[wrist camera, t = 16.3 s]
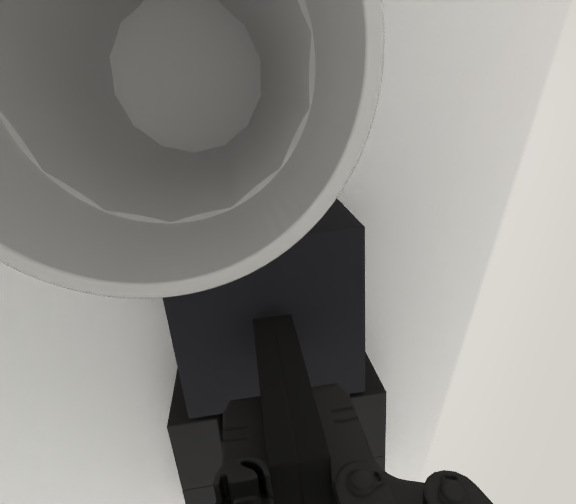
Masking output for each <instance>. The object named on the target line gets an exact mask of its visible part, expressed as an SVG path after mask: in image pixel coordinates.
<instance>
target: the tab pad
mask: <svg viewBox="0 0 576 504" xmlns="http://www.w3.org/2000/svg"><path fill="white" fill-rule="evenodd" d="M163 301H164V306H165V311H166V315H167V320H168V324H169V329H170V334H171V338H172V343H173V348H174V352H175V357H176V362H177V366H178V371H179V375H180V380H181V385H182V389H183V394H184V399H185V403H186V408H187V413H188V417H189V419H191V418H197V417H204V416H210V415H217V414H223V413H224V411H225V409H226V407H227V405H228V403H229V401H231V400H237V399H244V398H250V397H257V396H260V386H259V376H258V367H257V357H256V347H255V338H254V328H253V319H258V318H265V317H273V316H280V315H288V314H292V318H293V321H294V325H295V329H296V332H297V336H298V340H299V343H300V347H301V351H302V354H303V358H304V362H305V365H306V369H307V372H308V376H309V380H310V383H311V387H316V386H322V385H329V384H335V383H339V384H340V385H341V386H342V387H343V388H344V389H345V390H346V391H347V392H348V393H349V394H351V393H358V392H364V391H365V227H364V226H363V225H362V224H361V223H360V222H359V221H358V220H357V219H356V218H355V217H354V216H353V215H352V214H351V212H350V211H349V210H348V209H347V208H346V207H345V206H344V205H343V204H342V203H341V202H340V201H339V200H338V199H337V198H336V200H335V201H334V203H333V204H332V205H331V207H330V208H329V209H328V210H327V212H326V213H325V214H324V215H323V217H322V218H321V219H320V220H319V221H318V222H317V223H316V224H315V225H314V227H313V228H312V229H311V230H310V231H309V232H308V233H307V234H305V235H304V236H303V237H302V238H301V239H300V240H299V241H298V242H297V243H295V244H294V245H293V246H292V247H291V248H289V249H288V250H287V251H285V252H284V253H283V254H281V255H280V256H279V257H277V258H276V259H274V260H273V261H271V262H269V263H268V264H266V265H265V266H263V267H261V268H259V269H257V270H256V271H254V272H252V273H250V274H248V275H246V276H244V277H241V278H239V279H237V280H234V281H232V282H229V283H227V284H224V285H221V286H218V287H215V288H211V289H208V290H204V291H200V292H196V293H191V294H186V295H180V296H172V297H163Z"/></svg>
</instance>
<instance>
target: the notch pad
mask: <svg viewBox="0 0 576 504" xmlns="http://www.w3.org/2000/svg"><path fill="white" fill-rule="evenodd" d="M349 395H350V397H351V400H352V402H353V405H354V408H355V410H356V413H357V415H358V419H359V420H360V423H361V426H362V428H363V431H364V433H365V436H366V438H367V441H368V444H369V446H370V449H371V451H372V454H373V456H374V459H375V460H376V462H377V464H378V465H379V466H380V467H381V468H382V470H384V471H385V431H386V391H385V389H384V387H383V385H382V383H381V381H380V379H379V377H378V375H377V374H376V372H375V370H374V368H373V366H372V364H371V362H370V360H369V358H368V356H367V354H366V352H365V391H364V392H358V393H351V394H349ZM167 429H168V433H169V437H170V441H171V445H172V449H173V453H174V457H175V461H176V465H177V469H178V474H179V478H180V482H181V486H182V489H183V495H184V499H185V503H186V504H215V503H216V496H215V492H214V487H213V483H214V479H215V475H216V473H217V472H218V470H219V469H220V467H221V466H222V445H223V414H217V415H210V416H204V417H197V418H191V419H189V417H188V413H187V408H186V403H185V399H184V394H183V389H182V385H181V380H180V375H179V371H178V369H177V374H176V380H175V386H174V391H173V397H172V402H171V408H170V414H169V419H168V425H167Z"/></svg>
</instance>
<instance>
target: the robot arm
mask: <svg viewBox="0 0 576 504" xmlns="http://www.w3.org/2000/svg"><path fill="white" fill-rule="evenodd" d="M253 328H254V338H255V347H256V357H257V367H258V376H259V386H260V396H257V397H250V398H244V399H237V400H231V401H229V403H228V405H227V407H226V409H225V411H224V413H223V445H222V466H221V467H220V469H219V470H218V472H217V473H216V475H215V479H214V483H213V487H214V492H215V496H216V503H215V504H493V503H492V502H491V501H490V500H489V499H488V498H487V497H486V495H485V494H484V493H483V492H482V491H481V490H480V489H479V488H478V487H477V486H476V485H475V484H474V483H473V482H472V481H471V480H470V479H468V478H467V477H465V476H463V475H461V474H459V473H457V472H452V471H445V470H444V471H439V472H434V473H433V474H432V475H430V476H429V477H428V478H427V480H426V482H425V483H422V482H414V481H407V480H402V479H398V478H396V477H394V476H391V475H389V474H388V473H387V472H385V471H384V470H382V468H381V467H380V466H379V465H378V464H377V462H376V460H375V459H374V456H373V454H372V451H371V449H370V446H369V444H368V441H367V438H366V436H365V433H364V431H363V428H362V426H361V423H360V420H359V419H358V415H357V413H356V410H355V408H354V405H353V402H352V400H351V397H350V395H349V393H348V392H347V391H346V390H345V389H344V388H343V387H342V386H341V385H340V384H339V383H335V384H329V385H322V386H316V387H311V383H310V380H309V376H308V372H307V369H306V365H305V362H304V358H303V354H302V351H301V347H300V343H299V340H298V336H297V332H296V329H295V325H294V321H293V318H292V314H288V315H280V316H273V317H265V318H258V319H253Z"/></svg>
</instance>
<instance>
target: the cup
mask: <svg viewBox="0 0 576 504" xmlns="http://www.w3.org/2000/svg"><path fill="white" fill-rule="evenodd" d="M383 59H384V17H383V4H382V0H0V262H2V263H4V264H6V265H8V266H10V267H12V268H14V269H16V270H18V271H20V272H23V273H25V274H27V275H30V276H32V277H35V278H37V279H40V280H43V281H45V282H48V283H51V284H54V285H57V286H61V287H64V288H68V289H72V290H76V291H80V292H85V293H90V294H95V295H102V296H109V297H119V298H163V297H172V296H180V295H186V294H191V293H196V292H200V291H204V290H208V289H211V288H215V287H218V286H221V285H224V284H227V283H229V282H232V281H234V280H237V279H239V278H241V277H244V276H246V275H248V274H250V273H252V272H254V271H256V270H257V269H259V268H261V267H263V266H265V265H266V264H268V263H269V262H271V261H273V260H274V259H276V258H277V257H279V256H280V255H281V254H283V253H284V252H285V251H287V250H288V249H289V248H291V247H292V246H293V245H294V244H295V243H297V242H298V241H299V240H300V239H301V238H302V237H303V236H304V235H305V234H307V233H308V232H309V231H310V230H311V229H312V228H313V227H314V225H315V224H316V223H317V222H318V221H319V220H320V219H321V218H322V217H323V215H324V214H325V213H326V212H327V210H328V209H329V208H330V207H331V205H332V204H333V203H334V201H335V200H336V198H337V197H338V195H339V194H340V193H341V191H342V189H343V188H344V186H345V184H346V183H347V181H348V179H349V178H350V176H351V174H352V172H353V170H354V168H355V166H356V164H357V162H358V160H359V158H360V155H361V153H362V151H363V148H364V146H365V143H366V140H367V138H368V135H369V132H370V129H371V125H372V122H373V119H374V115H375V111H376V107H377V102H378V98H379V92H380V86H381V80H382V70H383Z"/></svg>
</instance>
